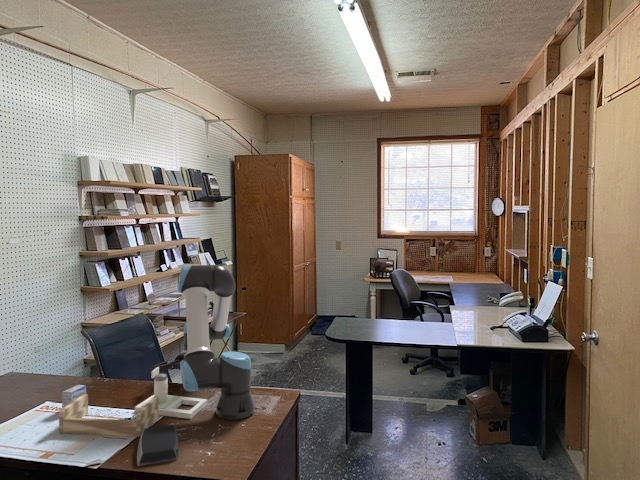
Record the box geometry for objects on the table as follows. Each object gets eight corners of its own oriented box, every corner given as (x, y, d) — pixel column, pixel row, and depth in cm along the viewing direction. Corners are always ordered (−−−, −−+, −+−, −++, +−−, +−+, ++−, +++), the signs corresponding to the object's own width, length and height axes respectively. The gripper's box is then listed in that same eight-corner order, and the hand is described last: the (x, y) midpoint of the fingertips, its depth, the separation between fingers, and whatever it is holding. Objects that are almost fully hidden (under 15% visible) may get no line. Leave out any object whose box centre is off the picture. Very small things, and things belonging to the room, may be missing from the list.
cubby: (84, 414, 170) (84, 393, 170) (158, 416, 169) (158, 396, 169) (59, 433, 155) (59, 411, 154) (140, 436, 154) (140, 413, 153)
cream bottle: (170, 399, 180) (170, 373, 180) (163, 404, 175) (163, 378, 175) (158, 397, 181) (158, 372, 181) (151, 402, 176) (151, 377, 176)
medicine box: (71, 414, 170) (71, 392, 169) (61, 413, 171) (61, 391, 170) (86, 406, 177) (86, 385, 177) (76, 405, 178) (76, 384, 178)
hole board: (207, 404, 182) (207, 398, 182) (190, 418, 168) (190, 412, 168) (155, 398, 187) (155, 392, 187) (134, 412, 173) (134, 406, 173)
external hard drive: (134, 467, 135) (134, 454, 135) (139, 438, 153) (139, 426, 153) (179, 461, 139) (179, 448, 139) (178, 433, 158) (178, 422, 157)
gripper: (211, 368, 207) (197, 385, 186) (158, 367, 208) (138, 383, 187) (211, 352, 207) (197, 367, 186) (158, 351, 208) (138, 366, 186)
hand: (168, 375), depth 186 cm, fingers open, 13 cm apart
